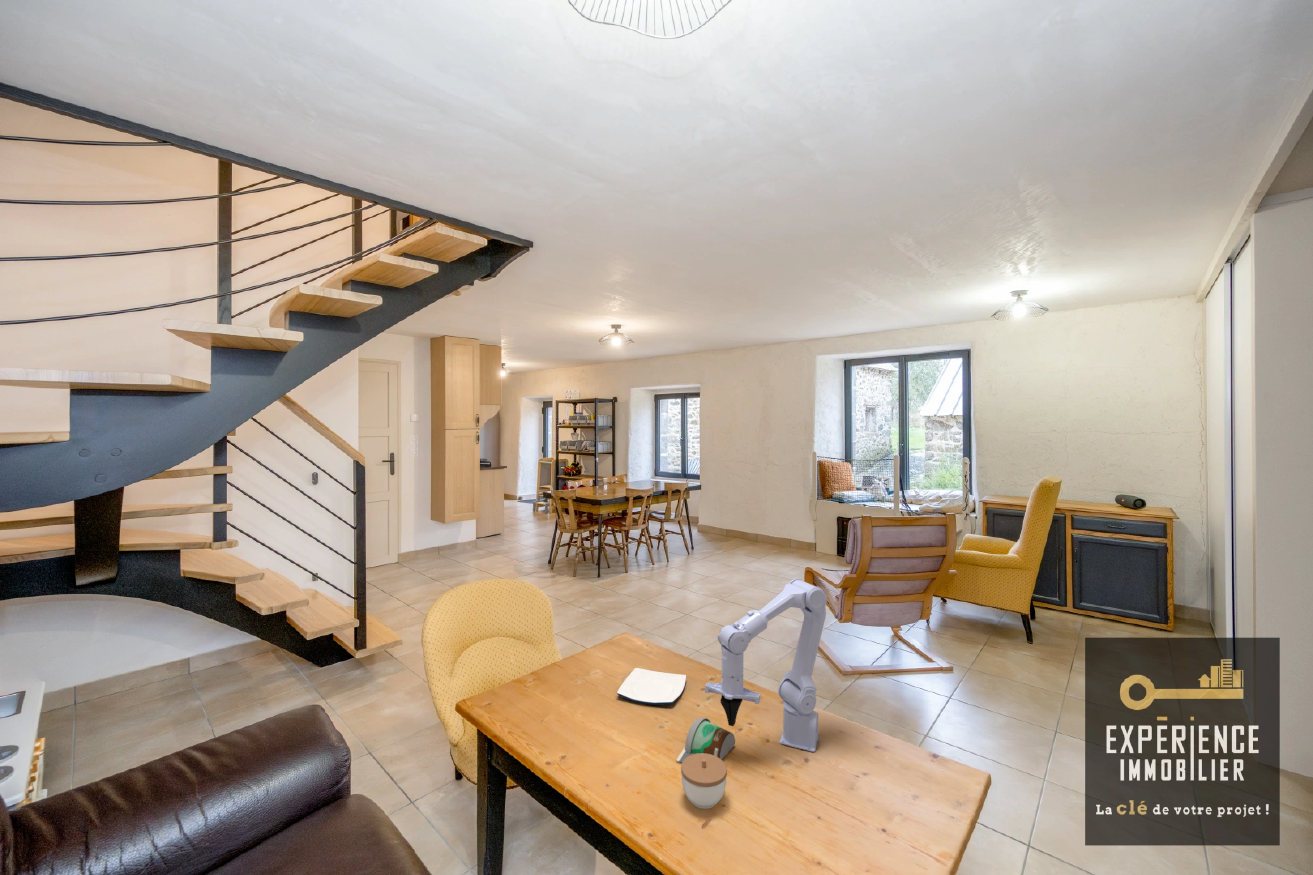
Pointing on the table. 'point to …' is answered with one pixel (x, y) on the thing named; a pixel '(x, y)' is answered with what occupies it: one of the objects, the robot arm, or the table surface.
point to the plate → (652, 687)
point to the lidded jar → (703, 779)
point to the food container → (708, 739)
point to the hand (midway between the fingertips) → (731, 723)
